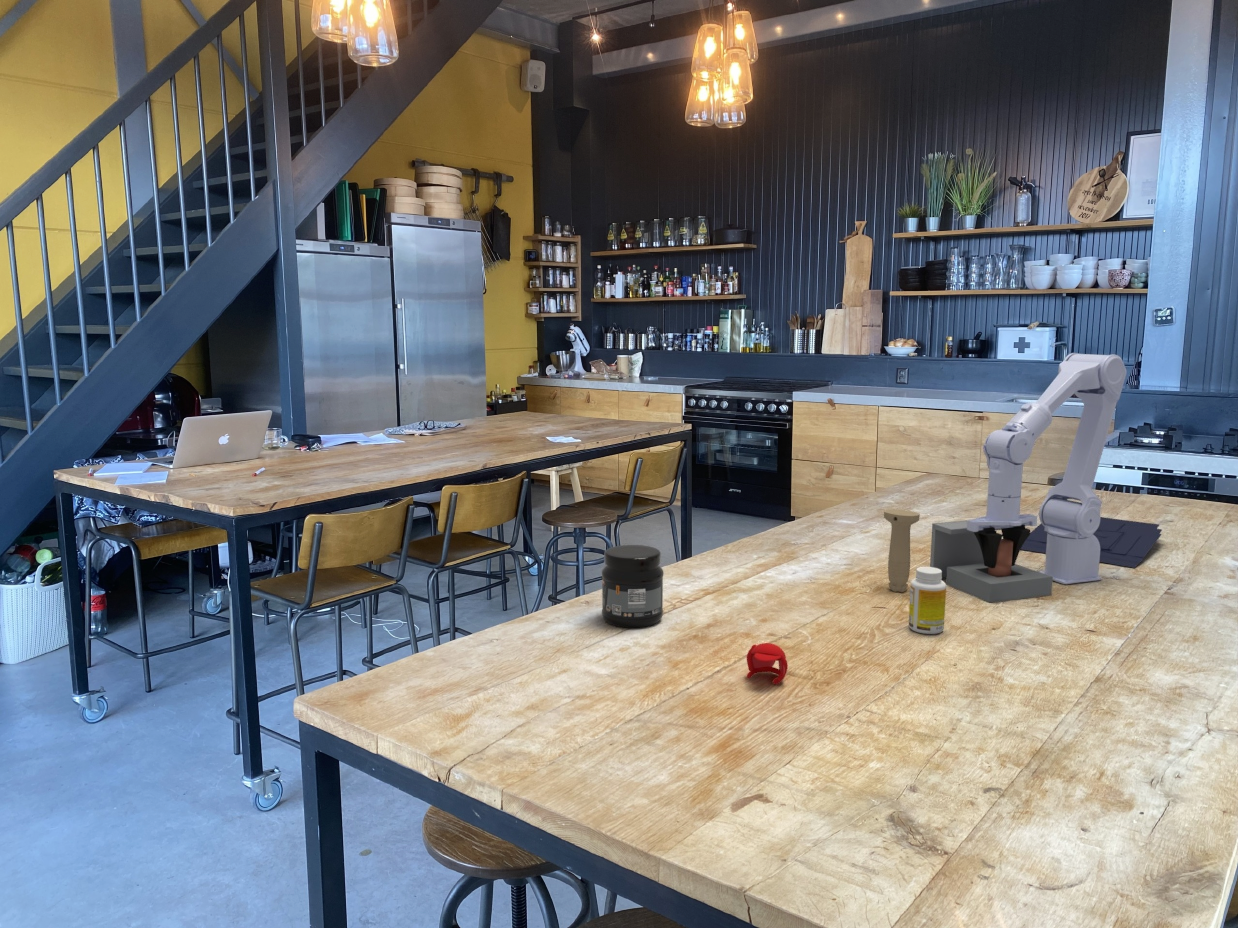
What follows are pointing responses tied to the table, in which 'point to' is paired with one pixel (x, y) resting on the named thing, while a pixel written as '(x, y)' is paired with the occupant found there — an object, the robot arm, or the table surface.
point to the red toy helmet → (767, 660)
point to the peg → (1003, 559)
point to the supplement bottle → (927, 601)
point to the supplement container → (632, 586)
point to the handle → (899, 547)
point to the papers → (1110, 540)
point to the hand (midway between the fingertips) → (999, 565)
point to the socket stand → (980, 567)
